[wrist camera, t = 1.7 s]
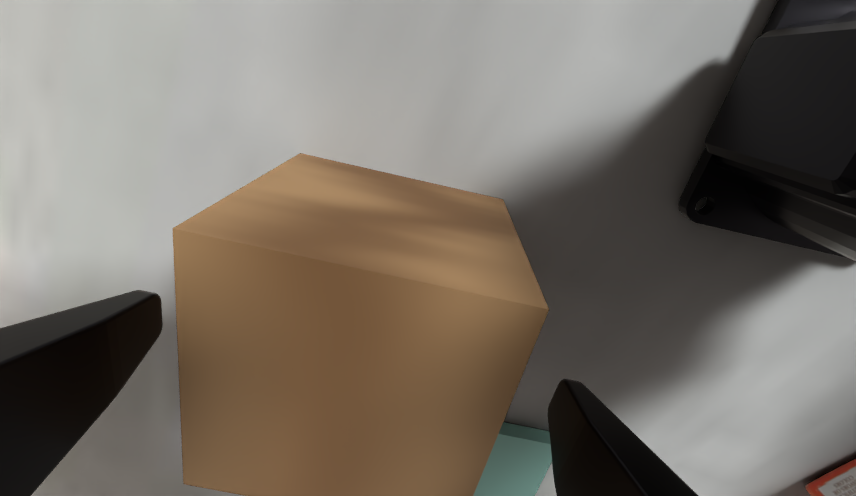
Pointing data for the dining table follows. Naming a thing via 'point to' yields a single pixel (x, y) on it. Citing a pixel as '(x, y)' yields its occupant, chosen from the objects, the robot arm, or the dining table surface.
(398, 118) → the dining table surface
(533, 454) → the teal pad
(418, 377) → the walnut cube
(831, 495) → the cracker box
